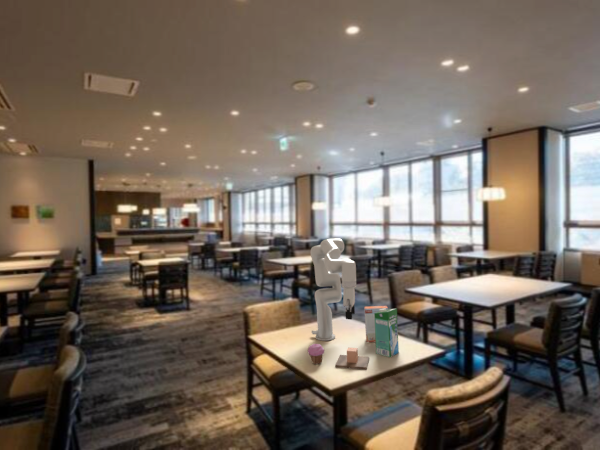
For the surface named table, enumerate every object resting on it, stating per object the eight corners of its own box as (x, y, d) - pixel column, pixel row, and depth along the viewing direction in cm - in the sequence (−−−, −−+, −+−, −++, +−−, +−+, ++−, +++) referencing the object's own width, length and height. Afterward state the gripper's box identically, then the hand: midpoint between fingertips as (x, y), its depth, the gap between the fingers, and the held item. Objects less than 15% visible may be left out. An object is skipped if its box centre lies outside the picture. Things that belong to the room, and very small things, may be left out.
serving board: (335, 367, 185) (335, 364, 185) (340, 356, 198) (340, 354, 198) (366, 369, 180) (366, 367, 180) (369, 358, 194) (369, 356, 194)
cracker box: (388, 338, 224) (386, 305, 224) (389, 342, 218) (388, 307, 218) (365, 338, 226) (364, 305, 225) (366, 342, 220) (365, 308, 219)
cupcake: (327, 364, 189) (326, 345, 189) (311, 367, 187) (310, 348, 186) (321, 358, 198) (320, 340, 197) (306, 361, 195) (305, 342, 195)
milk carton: (384, 348, 207) (382, 305, 207) (398, 352, 201) (396, 308, 200) (376, 353, 201) (374, 309, 201) (390, 357, 194) (388, 311, 194)
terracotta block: (347, 362, 188) (346, 350, 188) (348, 358, 193) (348, 347, 193) (356, 362, 186) (356, 351, 186) (358, 359, 191) (357, 348, 191)
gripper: (344, 280, 198) (345, 311, 199) (339, 287, 182) (340, 320, 182) (358, 281, 196) (359, 312, 197) (353, 287, 180) (355, 321, 180)
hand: (350, 316), depth 189 cm, fingers open, 9 cm apart
